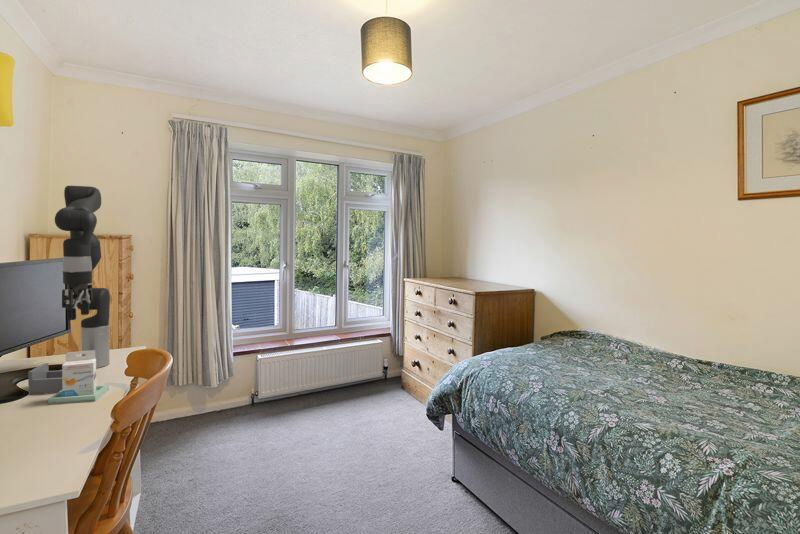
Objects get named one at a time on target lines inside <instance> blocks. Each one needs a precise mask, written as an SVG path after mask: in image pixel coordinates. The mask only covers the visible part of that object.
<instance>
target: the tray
mask: <svg viewBox="0 0 800 534" xmlns="http://www.w3.org/2000/svg"><path fill="white" fill-rule="evenodd" d="M109 390H110V385H109V384H101V385H98V384H97V385H96V392H95V394H94V395H85V396H70V397H62V390H61V391H60V392H58V393H54V395H52V396H50V397H49V398H48V399H47V400H48V401H47V403H48V405H57V404H59V405H60V404H73V403H74V404H75V403H87V402H88V403H89V402H96V401H97V400H99V398H101V397H102V396H104V394H105V393H107V392H108V391H109Z"/></svg>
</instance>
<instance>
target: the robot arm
mask: <svg viewBox="0 0 800 534" xmlns="http://www.w3.org/2000/svg"><path fill="white" fill-rule="evenodd" d="M63 197H64V202H65V207H63V208H61V209H59V210H58V211H57V212H56V213H55V215H54V225H56V227H57V229H59V230H61V231H65V232H69V234H70V235H69V236H70V238H66V239H64V240H63V243H62V248H63V249H62V250H63V251H62V255H63V258H62V259H63V260H62V283H63V285H67V286H68V288H67V289H65V288H63V289H62V290H61V308H63V309H65V310H66V319H67V321H75V320H76V319H77V309H78V310H80V314H81V316H85V315H86V316H87V315H89V314H90V311H96V313H95V314H94V315H91V316H90V317H86V318H83V319H81V321H80V344H81V345H80V346H81V347H80V351H91V350H95V359H96V369H97V368H103V367H106V366H108V365H110V310H111V309H110V308H111V307H110V305H111V293H110V291H109V289H108V288H106V287H93V284H92V283H93V271H95V270H94V269H96V267H97V266H98V264H99V263H100V261H101V259H102V249H101V248H102V247H101V241H100V239H99V238H98V236H96V234H94V233H95V229H96V226H97V224H98V223H97V222H98V218H97V216H96V214H95V213H96V211H98V210H99V209H100V208H101V206H102V195H101V191H100V190H99V188H97V187H95V186H89V185H88V186H86V185H85V186H84V185H66V186H65V187H64V191H63ZM81 356H86V354H81Z"/></svg>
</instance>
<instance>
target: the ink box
mask: <svg viewBox="0 0 800 534" xmlns="http://www.w3.org/2000/svg"><path fill="white" fill-rule="evenodd" d="M82 354H86V356H82ZM78 355H79V356H78ZM61 369H62V397H70V396H85V395H94V394H95V392H96V386H97V368H96V359H95V350H91V351H81V350H80V351H79V350H78V351H70V352H69V351H68V352H66V353H65V362H64V363H63V364H62V365H61Z"/></svg>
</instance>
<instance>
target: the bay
mask: <svg viewBox="0 0 800 534" xmlns="http://www.w3.org/2000/svg"><path fill="white" fill-rule="evenodd" d="M27 377H28V384H27V385H28V395H40V394H41V395H43V394H57V393H58V392H60V391H61V390H62V370H61V369H60V370H59V369H58V370H49V362H44V363H43V364H40V365H38V366H37V367H34V368H33V369H32V370H29V371H27Z"/></svg>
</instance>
